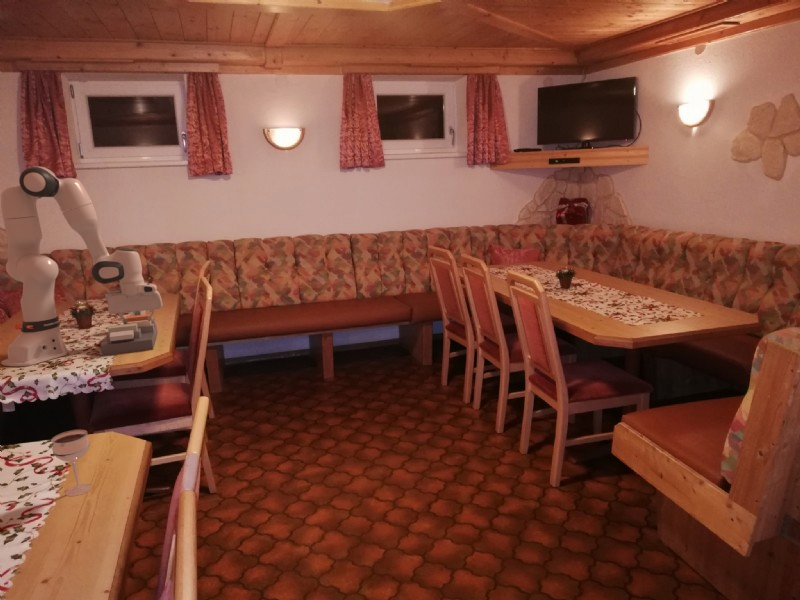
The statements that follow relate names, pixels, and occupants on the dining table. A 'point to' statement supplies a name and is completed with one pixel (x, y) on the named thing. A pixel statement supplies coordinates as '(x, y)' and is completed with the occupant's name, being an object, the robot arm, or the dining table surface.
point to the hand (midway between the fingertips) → (138, 321)
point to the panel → (132, 341)
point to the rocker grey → (121, 335)
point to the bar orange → (138, 318)
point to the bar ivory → (141, 323)
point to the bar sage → (123, 328)
